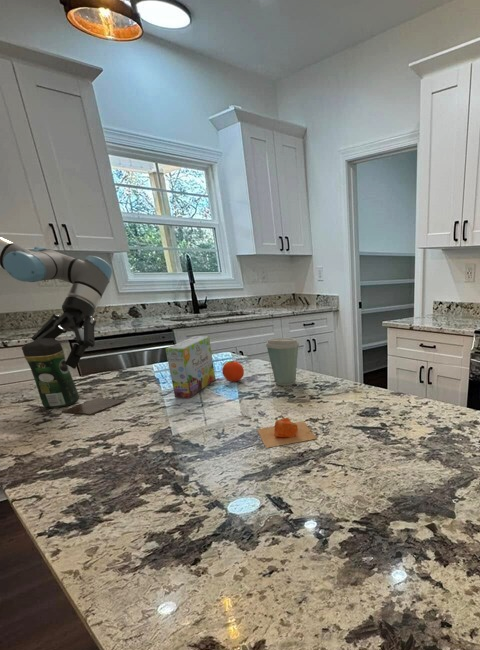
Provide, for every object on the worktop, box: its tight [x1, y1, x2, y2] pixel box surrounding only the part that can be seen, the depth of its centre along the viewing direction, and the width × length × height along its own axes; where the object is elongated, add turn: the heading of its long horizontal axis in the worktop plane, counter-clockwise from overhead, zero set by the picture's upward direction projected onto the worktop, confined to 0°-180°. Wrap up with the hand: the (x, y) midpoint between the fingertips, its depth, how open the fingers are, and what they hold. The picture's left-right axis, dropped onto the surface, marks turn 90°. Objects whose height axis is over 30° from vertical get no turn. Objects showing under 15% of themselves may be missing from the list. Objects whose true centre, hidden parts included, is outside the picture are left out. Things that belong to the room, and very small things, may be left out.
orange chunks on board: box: [256, 417, 318, 449], centre depth 100 cm, size 12×12×4 cm
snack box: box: [165, 335, 217, 399], centre depth 133 cm, size 21×6×15 cm, turn 1°
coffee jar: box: [21, 338, 80, 409], centre depth 119 cm, size 10×8×19 cm
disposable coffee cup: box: [265, 337, 300, 387], centre depth 137 cm, size 11×11×15 cm
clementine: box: [221, 360, 245, 383], centre depth 142 cm, size 8×7×7 cm
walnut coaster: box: [61, 397, 126, 416], centre depth 120 cm, size 10×12×1 cm
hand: (51, 365), depth 118 cm, fingers open, 13 cm apart
